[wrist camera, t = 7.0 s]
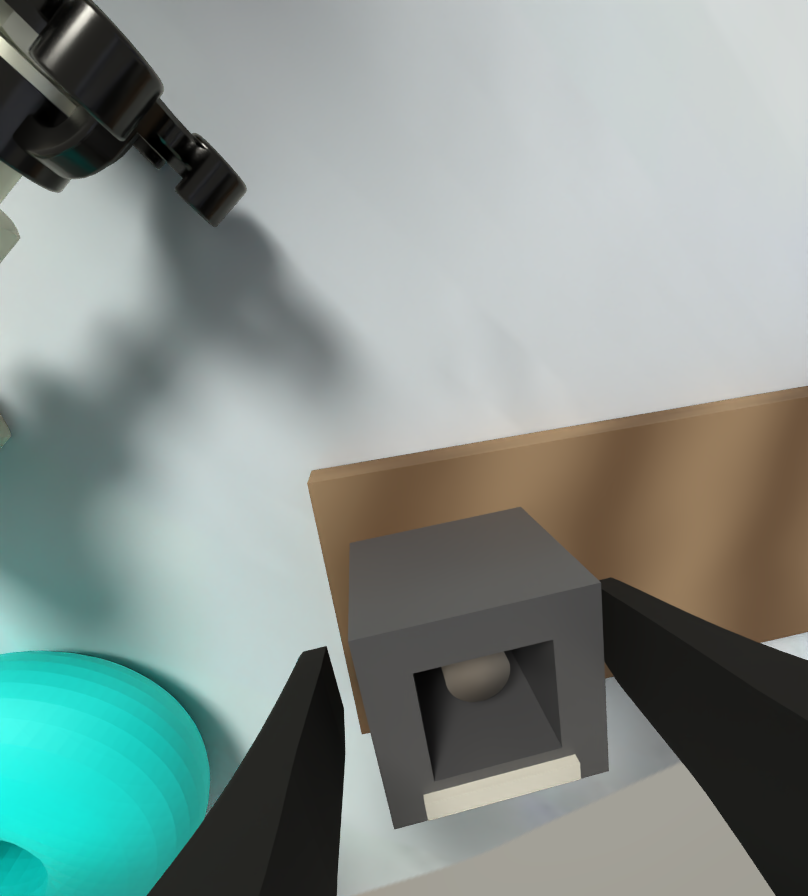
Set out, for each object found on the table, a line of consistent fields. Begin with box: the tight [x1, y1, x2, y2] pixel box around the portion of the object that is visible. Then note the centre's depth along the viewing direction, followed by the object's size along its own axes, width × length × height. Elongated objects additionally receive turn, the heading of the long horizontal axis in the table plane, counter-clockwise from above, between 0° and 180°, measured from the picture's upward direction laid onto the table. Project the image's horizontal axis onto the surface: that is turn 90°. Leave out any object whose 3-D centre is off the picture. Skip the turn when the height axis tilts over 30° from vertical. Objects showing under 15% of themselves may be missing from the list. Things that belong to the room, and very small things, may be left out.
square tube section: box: [348, 507, 609, 829], centre depth 10 cm, size 5×5×4 cm
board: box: [307, 386, 808, 734], centre depth 12 cm, size 18×9×4 cm, turn 98°
